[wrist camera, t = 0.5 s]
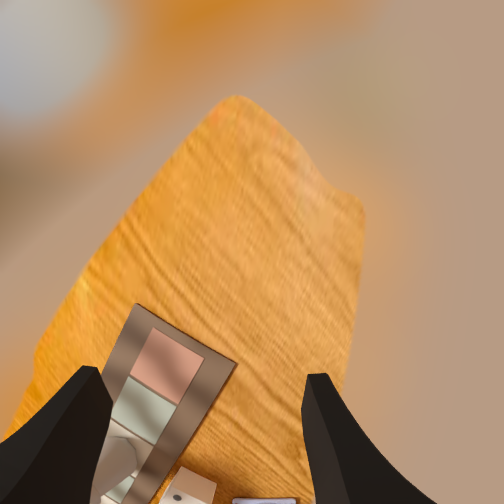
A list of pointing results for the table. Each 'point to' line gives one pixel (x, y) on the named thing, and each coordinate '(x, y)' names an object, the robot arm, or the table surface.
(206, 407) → the game board
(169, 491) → the die
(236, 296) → the table surface
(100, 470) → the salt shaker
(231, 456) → the table surface
